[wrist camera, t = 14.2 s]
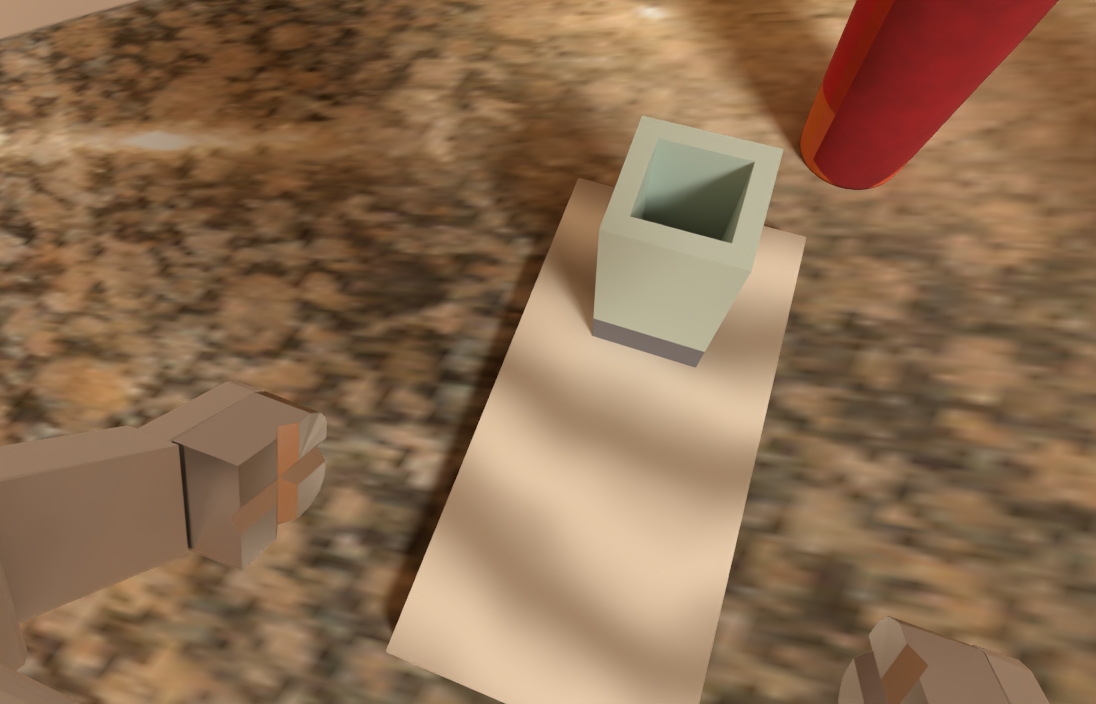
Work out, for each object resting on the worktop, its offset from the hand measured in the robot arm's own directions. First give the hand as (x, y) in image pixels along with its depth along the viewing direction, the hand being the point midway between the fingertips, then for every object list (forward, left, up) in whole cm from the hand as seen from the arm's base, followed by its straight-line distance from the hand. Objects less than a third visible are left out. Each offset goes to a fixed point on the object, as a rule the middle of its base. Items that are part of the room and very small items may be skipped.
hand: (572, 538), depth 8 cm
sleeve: (-12, -4, -16) cm, 21 cm away
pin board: (-6, -2, -18) cm, 19 cm away
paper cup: (-27, -2, -18) cm, 32 cm away
